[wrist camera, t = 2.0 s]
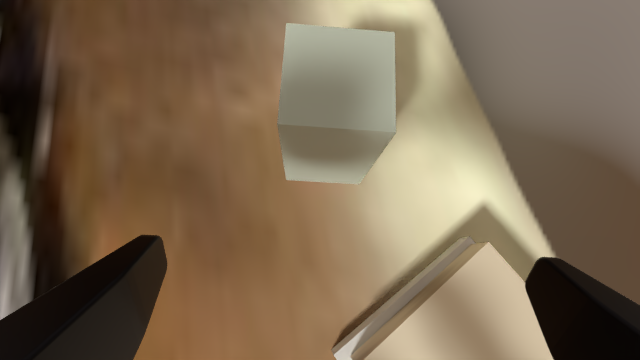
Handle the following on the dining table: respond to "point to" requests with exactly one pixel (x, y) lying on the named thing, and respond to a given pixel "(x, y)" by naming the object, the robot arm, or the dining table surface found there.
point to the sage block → (335, 102)
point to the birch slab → (464, 316)
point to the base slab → (398, 301)
